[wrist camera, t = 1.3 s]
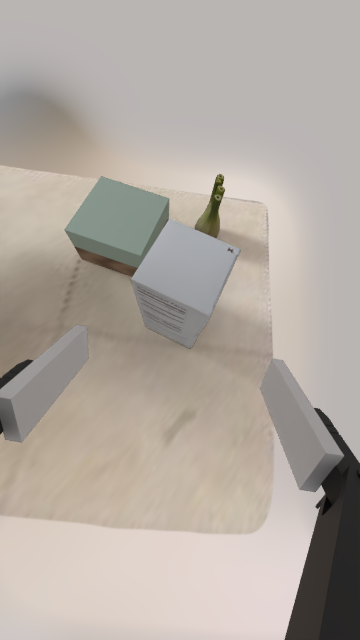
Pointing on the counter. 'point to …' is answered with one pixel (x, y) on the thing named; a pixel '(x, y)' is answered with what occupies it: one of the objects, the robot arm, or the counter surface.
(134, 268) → the tower base
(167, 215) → the tower top
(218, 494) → the counter surface
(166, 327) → the supplement box
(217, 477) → the counter surface
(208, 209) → the fennel bulb
